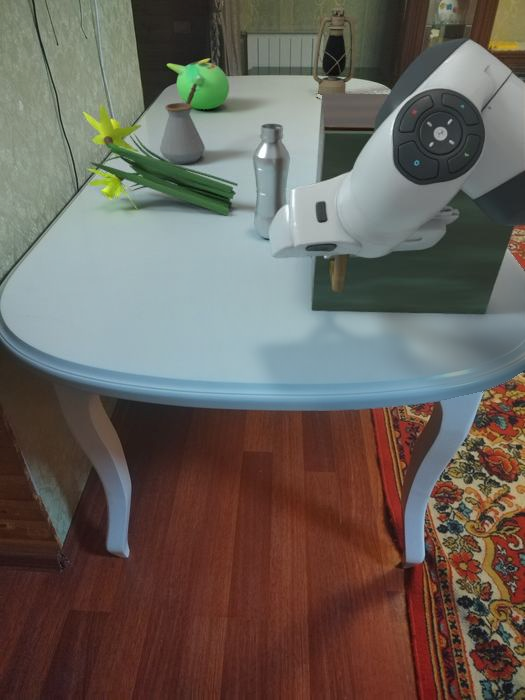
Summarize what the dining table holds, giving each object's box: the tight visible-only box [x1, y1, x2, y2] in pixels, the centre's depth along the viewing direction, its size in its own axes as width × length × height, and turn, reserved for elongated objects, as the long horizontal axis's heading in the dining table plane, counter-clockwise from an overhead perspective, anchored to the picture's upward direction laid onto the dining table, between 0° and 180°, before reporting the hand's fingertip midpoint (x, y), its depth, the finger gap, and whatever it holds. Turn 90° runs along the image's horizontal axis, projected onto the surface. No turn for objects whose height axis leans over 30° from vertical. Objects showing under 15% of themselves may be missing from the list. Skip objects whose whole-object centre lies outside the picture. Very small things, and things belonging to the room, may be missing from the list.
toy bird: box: [166, 58, 230, 111], centre depth 167 cm, size 18×17×15 cm
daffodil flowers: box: [82, 103, 239, 216], centre depth 105 cm, size 17×15×35 cm
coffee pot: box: [159, 83, 206, 165], centre depth 131 cm, size 21×12×15 cm, turn 169°
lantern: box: [312, 0, 359, 95], centre depth 176 cm, size 14×12×30 cm
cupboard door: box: [310, 131, 515, 315], centre depth 67 cm, size 7×26×26 cm, turn 88°
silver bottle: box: [252, 123, 291, 239], centre depth 92 cm, size 6×7×20 cm
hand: (340, 252), depth 67 cm, fingers closed, pressing on cupboard door
